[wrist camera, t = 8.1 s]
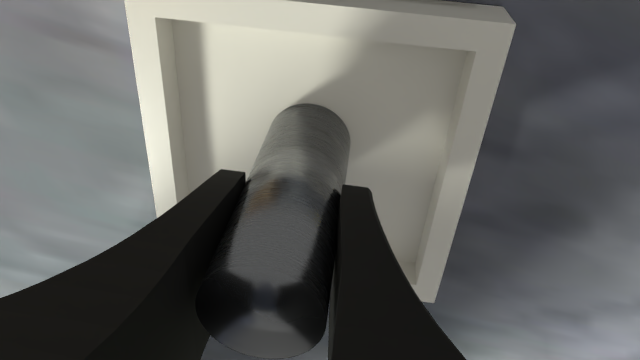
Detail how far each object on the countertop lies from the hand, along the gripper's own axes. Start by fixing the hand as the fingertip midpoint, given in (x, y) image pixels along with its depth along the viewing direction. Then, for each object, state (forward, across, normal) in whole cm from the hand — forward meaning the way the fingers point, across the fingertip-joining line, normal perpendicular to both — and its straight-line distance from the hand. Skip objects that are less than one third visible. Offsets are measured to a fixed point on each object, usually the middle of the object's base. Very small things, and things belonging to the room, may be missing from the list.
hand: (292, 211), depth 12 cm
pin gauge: (+3, 0, 0) cm, 3 cm away
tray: (+3, 0, 0) cm, 3 cm away
